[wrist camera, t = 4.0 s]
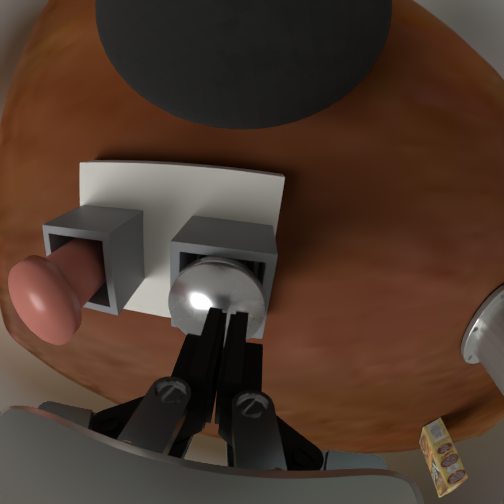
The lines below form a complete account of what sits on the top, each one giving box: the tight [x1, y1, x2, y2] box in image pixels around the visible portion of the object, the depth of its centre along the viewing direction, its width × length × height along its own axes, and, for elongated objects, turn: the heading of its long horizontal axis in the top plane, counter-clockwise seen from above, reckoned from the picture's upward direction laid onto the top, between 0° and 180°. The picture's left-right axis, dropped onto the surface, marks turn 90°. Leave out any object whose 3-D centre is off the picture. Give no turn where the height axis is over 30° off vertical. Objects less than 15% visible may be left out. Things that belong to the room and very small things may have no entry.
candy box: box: [419, 417, 468, 497], centre depth 27 cm, size 9×4×15 cm, turn 23°
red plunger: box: [8, 237, 106, 345], centre depth 13 cm, size 5×5×6 cm
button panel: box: [43, 160, 285, 339], centre depth 17 cm, size 15×12×7 cm
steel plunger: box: [168, 254, 265, 345], centre depth 16 cm, size 5×5×6 cm
